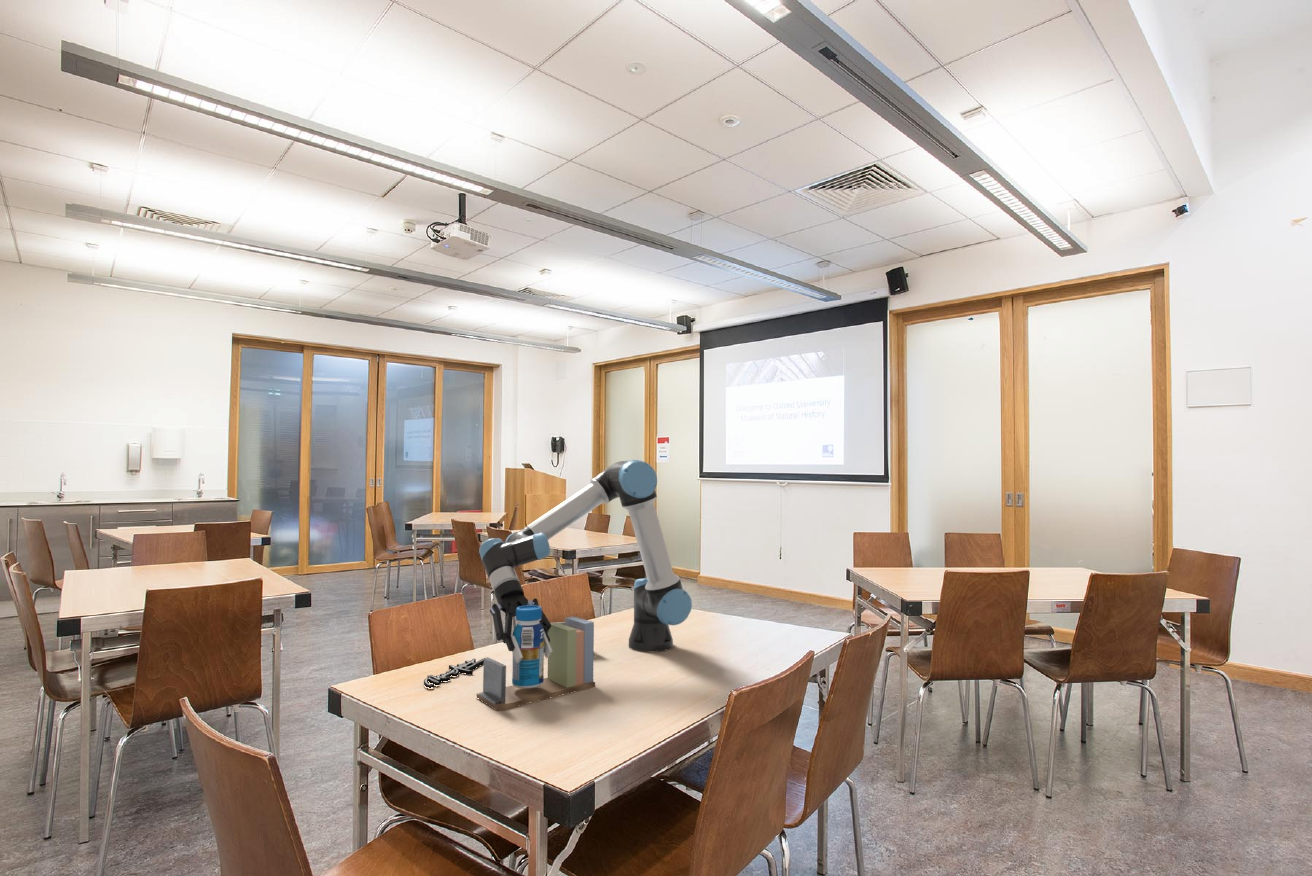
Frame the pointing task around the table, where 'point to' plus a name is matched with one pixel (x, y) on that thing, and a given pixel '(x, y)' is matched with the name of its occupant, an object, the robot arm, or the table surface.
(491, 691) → the bookend
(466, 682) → the table surface
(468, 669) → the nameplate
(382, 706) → the table surface
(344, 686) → the table surface
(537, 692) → the shelf board
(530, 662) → the beverage bottle
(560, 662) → the book row
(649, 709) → the table surface
